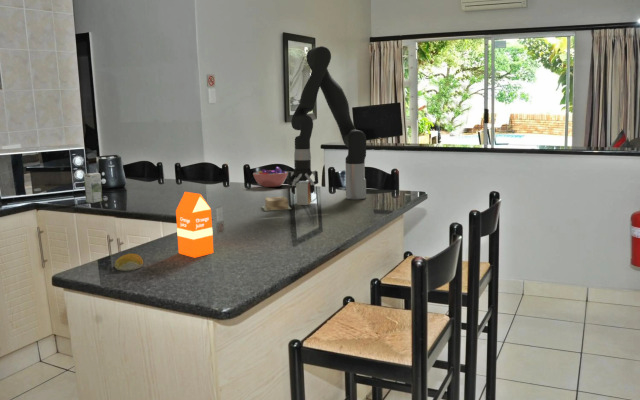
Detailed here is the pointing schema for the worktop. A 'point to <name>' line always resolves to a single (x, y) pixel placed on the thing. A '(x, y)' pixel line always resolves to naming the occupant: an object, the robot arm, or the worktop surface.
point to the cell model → (270, 177)
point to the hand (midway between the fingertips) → (302, 193)
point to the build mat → (277, 209)
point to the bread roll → (129, 262)
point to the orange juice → (194, 226)
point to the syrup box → (93, 187)
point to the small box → (303, 192)
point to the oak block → (276, 203)
